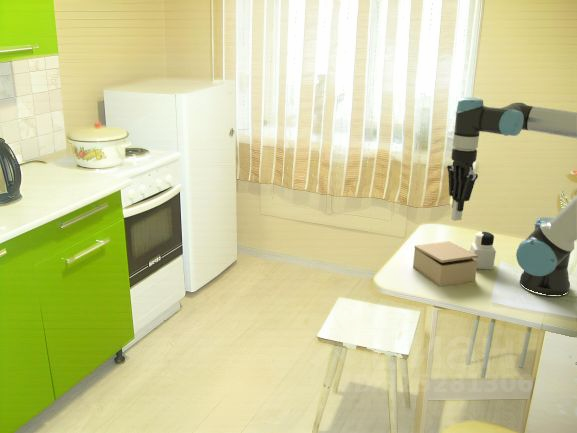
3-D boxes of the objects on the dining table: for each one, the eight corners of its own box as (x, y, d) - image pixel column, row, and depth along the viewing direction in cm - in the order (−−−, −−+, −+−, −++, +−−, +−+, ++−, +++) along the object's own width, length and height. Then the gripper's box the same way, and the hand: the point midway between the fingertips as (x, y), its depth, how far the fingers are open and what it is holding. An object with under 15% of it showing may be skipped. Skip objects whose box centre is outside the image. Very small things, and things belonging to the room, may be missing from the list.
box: (475, 280, 204) (477, 261, 202) (439, 286, 199) (441, 266, 197) (446, 262, 218) (449, 243, 216) (412, 266, 213) (414, 248, 211)
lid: (477, 257, 202) (478, 255, 201) (441, 262, 197) (441, 260, 197) (448, 243, 216) (449, 241, 216) (414, 247, 211) (414, 245, 211)
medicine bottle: (489, 261, 220) (493, 230, 216) (493, 270, 213) (498, 237, 209) (468, 260, 220) (472, 229, 216) (472, 268, 213) (476, 236, 209)
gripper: (488, 152, 187) (478, 224, 195) (462, 143, 198) (454, 212, 206) (467, 153, 184) (458, 227, 192) (442, 144, 196) (435, 214, 204)
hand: (456, 219), depth 199 cm, fingers closed
